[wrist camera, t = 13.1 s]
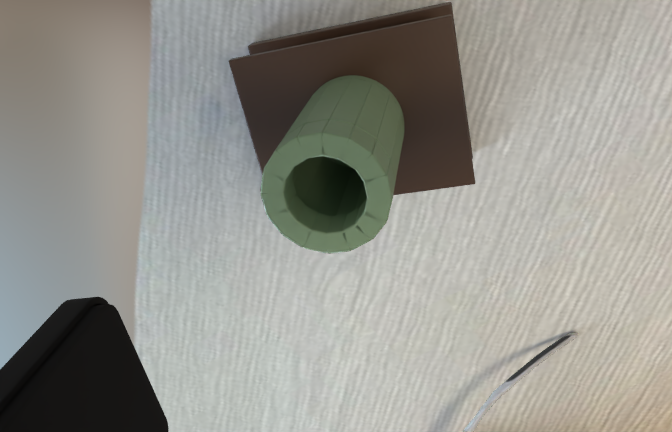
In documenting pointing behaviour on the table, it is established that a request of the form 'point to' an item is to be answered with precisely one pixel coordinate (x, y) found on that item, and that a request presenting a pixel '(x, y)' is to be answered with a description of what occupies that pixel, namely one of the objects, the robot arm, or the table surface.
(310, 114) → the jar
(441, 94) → the stand
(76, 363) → the robot arm
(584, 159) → the table surface
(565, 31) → the table surface
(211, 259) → the table surface
